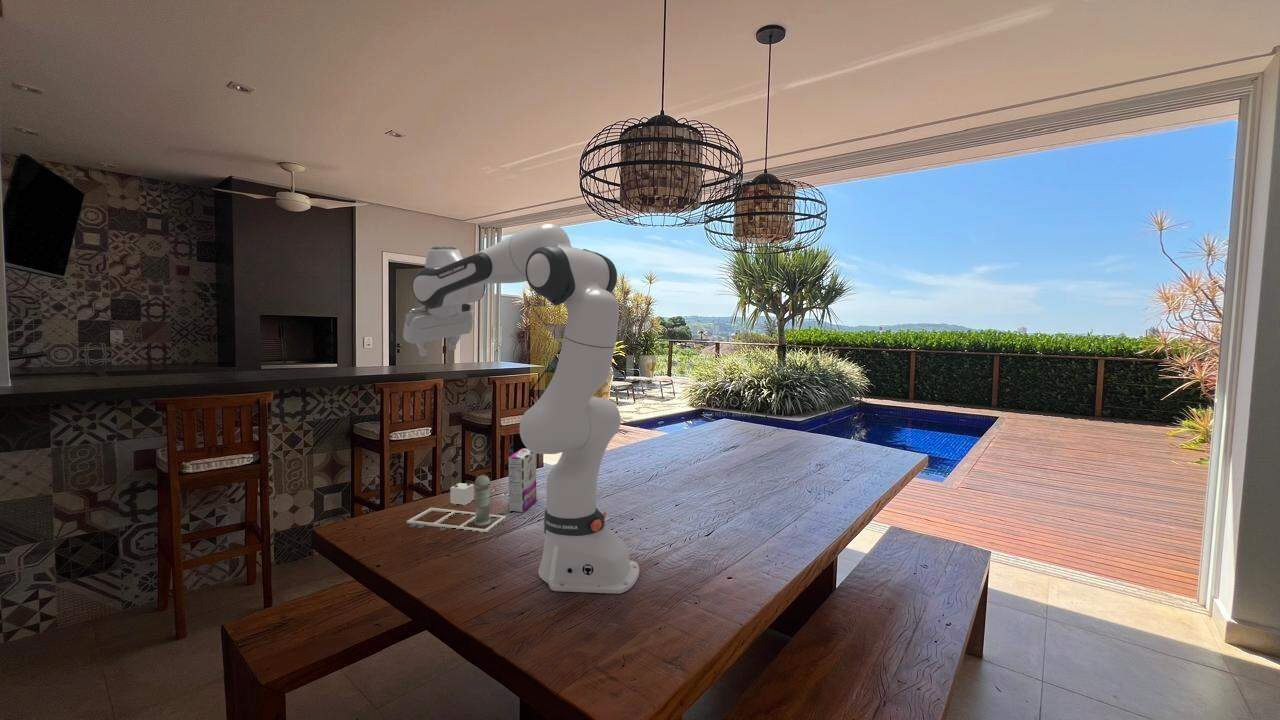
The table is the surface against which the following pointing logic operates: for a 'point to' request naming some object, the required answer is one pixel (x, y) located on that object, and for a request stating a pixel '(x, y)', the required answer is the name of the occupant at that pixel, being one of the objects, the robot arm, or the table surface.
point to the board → (436, 524)
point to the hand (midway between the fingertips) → (437, 352)
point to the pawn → (482, 501)
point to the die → (462, 493)
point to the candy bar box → (522, 480)
